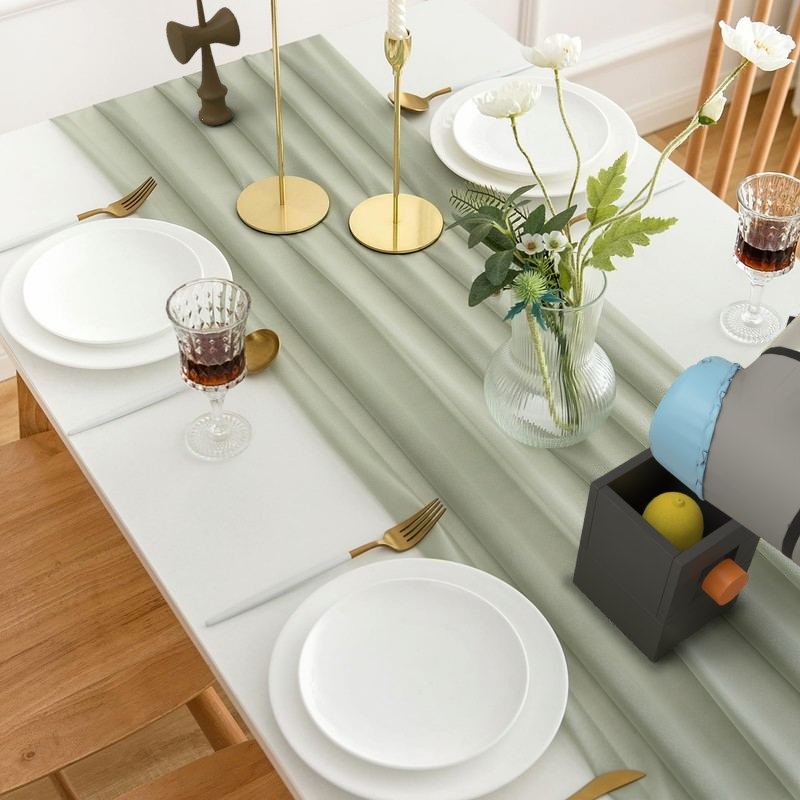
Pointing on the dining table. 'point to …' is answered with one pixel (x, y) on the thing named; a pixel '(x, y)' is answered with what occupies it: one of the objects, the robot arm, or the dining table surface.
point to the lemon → (676, 519)
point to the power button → (725, 581)
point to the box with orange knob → (652, 558)
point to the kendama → (206, 57)
